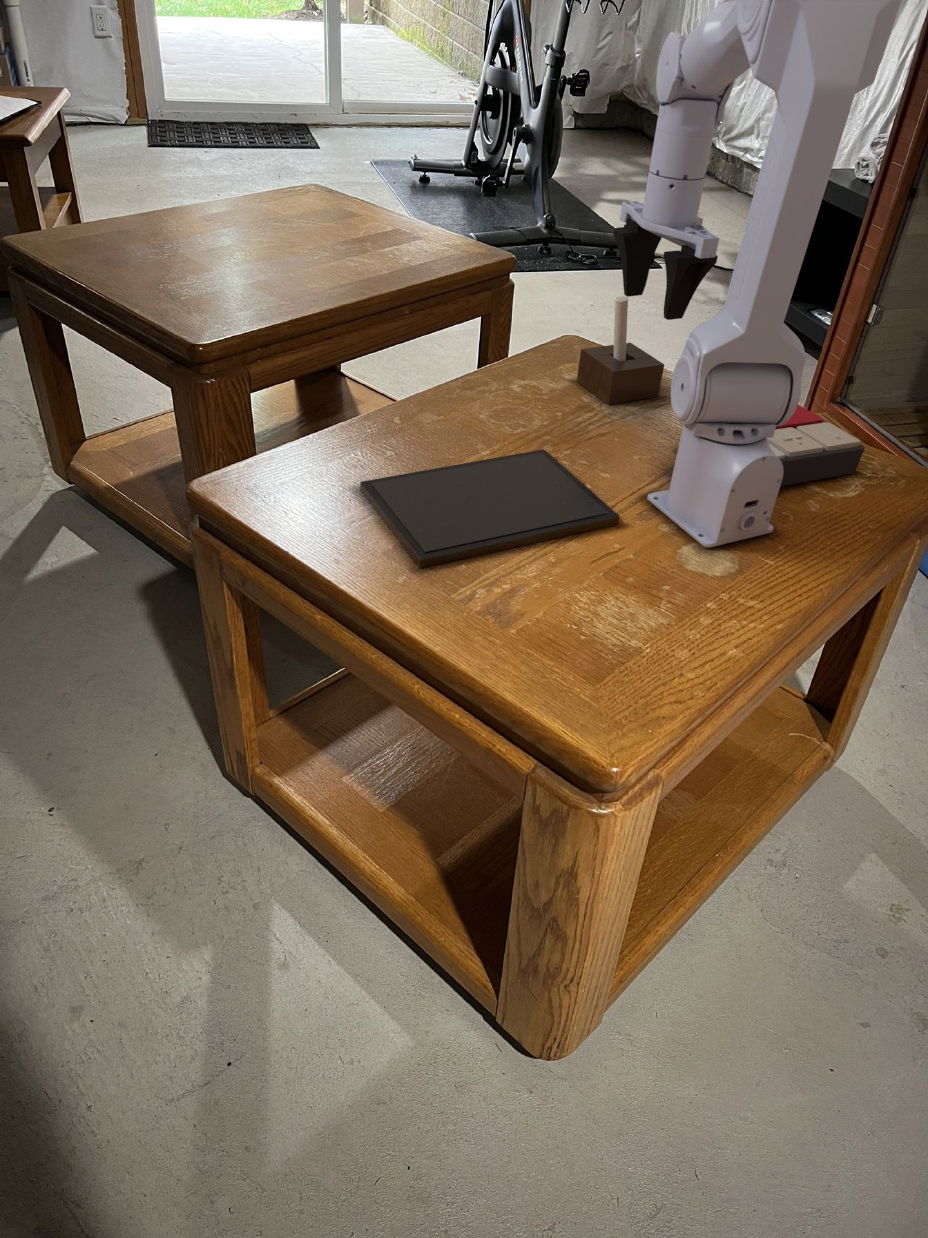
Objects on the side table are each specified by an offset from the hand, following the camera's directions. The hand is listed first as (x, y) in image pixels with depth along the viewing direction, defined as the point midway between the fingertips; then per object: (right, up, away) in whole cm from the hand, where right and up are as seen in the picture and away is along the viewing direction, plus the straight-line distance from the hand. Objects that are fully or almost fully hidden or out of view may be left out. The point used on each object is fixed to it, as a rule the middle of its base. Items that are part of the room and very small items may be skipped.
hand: (652, 306), depth 103 cm
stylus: (-3, -7, +7) cm, 11 cm away
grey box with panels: (+11, -18, -5) cm, 22 cm away
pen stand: (-3, -7, +7) cm, 11 cm away
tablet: (-19, -24, -16) cm, 35 cm away
